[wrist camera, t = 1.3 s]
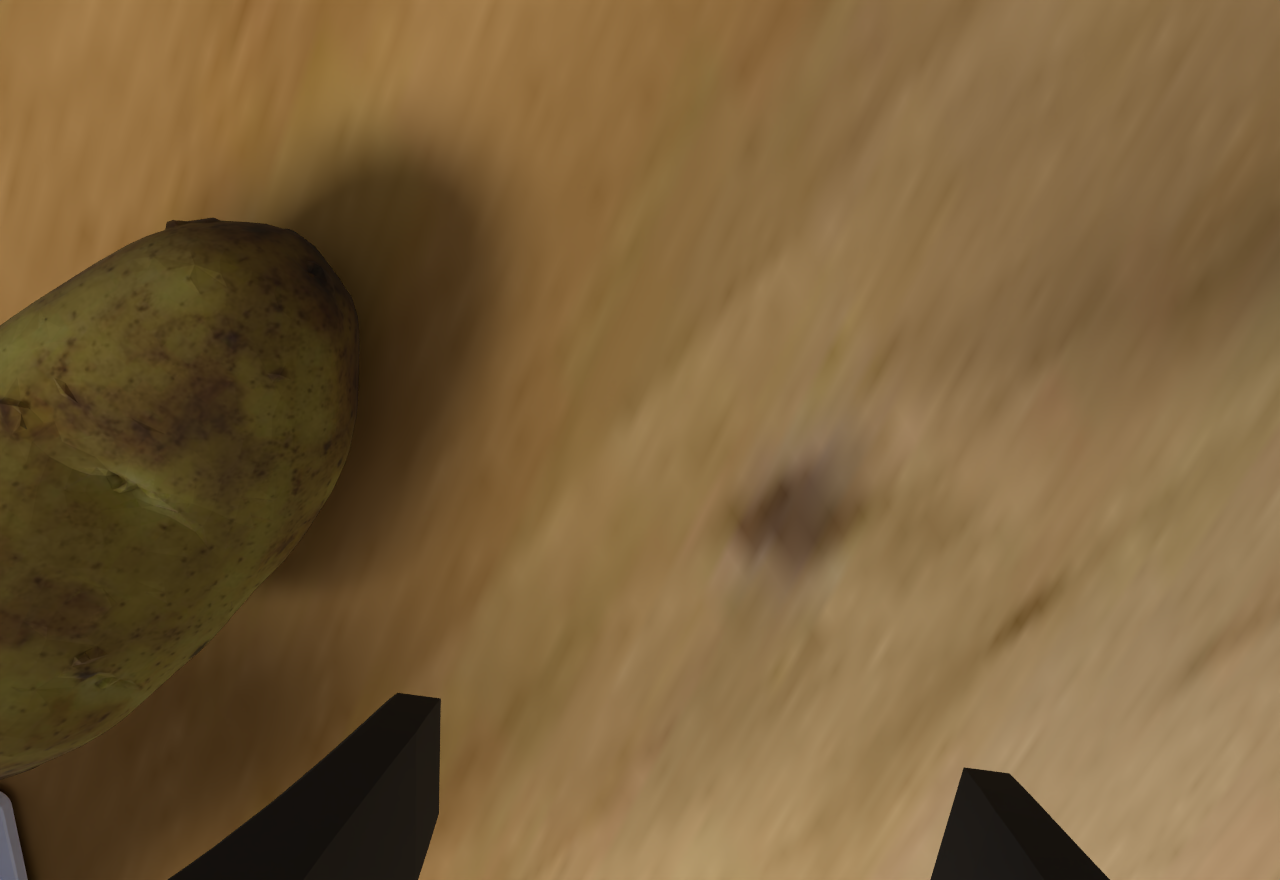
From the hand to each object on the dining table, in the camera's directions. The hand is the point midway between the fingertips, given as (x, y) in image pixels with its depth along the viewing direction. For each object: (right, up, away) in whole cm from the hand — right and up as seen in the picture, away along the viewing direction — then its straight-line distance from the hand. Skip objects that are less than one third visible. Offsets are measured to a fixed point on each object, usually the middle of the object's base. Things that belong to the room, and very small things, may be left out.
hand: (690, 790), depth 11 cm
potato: (-12, +5, +9) cm, 16 cm away
